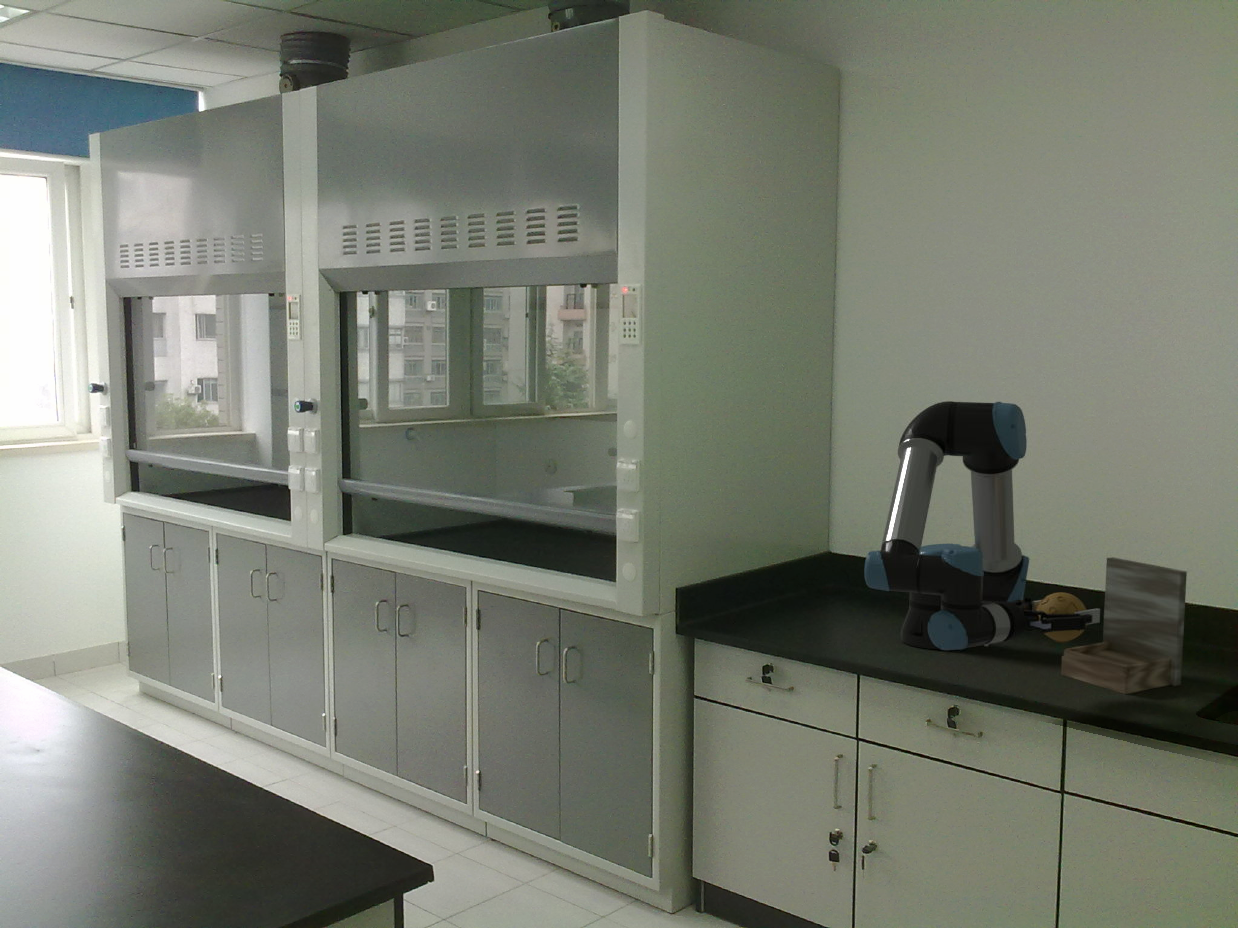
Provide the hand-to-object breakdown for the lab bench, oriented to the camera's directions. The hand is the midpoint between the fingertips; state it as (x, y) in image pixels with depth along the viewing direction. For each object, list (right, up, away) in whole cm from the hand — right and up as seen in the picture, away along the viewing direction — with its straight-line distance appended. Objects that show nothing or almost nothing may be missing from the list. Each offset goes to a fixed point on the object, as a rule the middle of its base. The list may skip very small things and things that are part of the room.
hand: (1076, 609), depth 238 cm
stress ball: (-4, -6, -1) cm, 8 cm away
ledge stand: (+11, -16, +8) cm, 21 cm away
